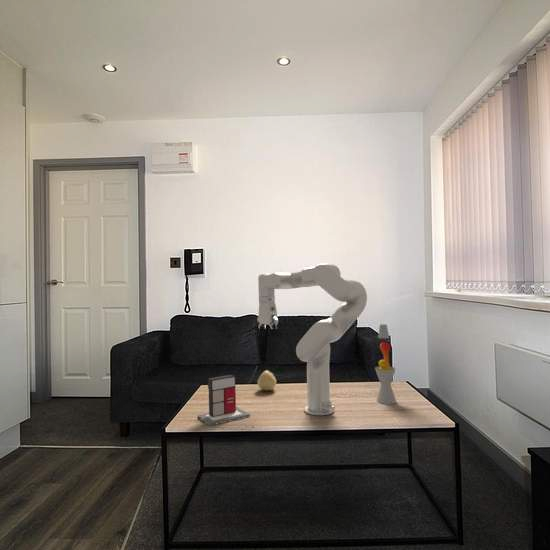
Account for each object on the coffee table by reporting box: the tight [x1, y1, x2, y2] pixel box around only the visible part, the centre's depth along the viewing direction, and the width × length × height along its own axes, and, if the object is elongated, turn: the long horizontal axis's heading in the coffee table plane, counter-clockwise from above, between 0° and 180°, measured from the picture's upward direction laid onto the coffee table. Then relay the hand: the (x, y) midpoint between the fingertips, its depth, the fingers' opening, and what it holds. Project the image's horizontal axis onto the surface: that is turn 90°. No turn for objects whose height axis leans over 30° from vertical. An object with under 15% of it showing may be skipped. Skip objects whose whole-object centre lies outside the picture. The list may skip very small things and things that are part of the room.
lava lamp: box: [374, 323, 397, 405], centre depth 169 cm, size 9×9×35 cm
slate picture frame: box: [197, 406, 251, 426], centre depth 152 cm, size 12×18×1 cm, turn 123°
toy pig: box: [256, 369, 277, 391], centre depth 192 cm, size 10×12×11 cm
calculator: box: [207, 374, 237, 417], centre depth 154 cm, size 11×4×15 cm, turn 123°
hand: (267, 336), depth 173 cm, fingers open, 9 cm apart
